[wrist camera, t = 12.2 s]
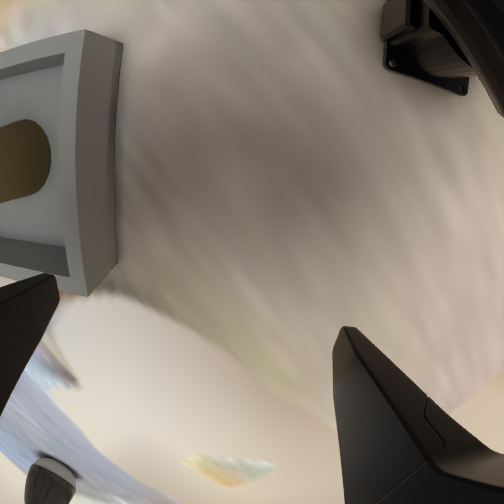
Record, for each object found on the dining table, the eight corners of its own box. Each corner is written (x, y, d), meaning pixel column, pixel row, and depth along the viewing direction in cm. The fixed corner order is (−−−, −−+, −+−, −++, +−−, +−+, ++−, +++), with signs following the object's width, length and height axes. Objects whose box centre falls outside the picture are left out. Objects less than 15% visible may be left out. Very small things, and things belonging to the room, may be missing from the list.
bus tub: (123, 43, 16) (85, 29, 12) (117, 262, 23) (87, 296, 18) (-22, 76, 16) (-61, 79, 12) (-14, 240, 23) (-47, 262, 18)
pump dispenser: (78, 466, 41) (53, 529, 27) (84, 483, 46) (64, 537, 32) (32, 443, 40) (4, 500, 27) (43, 463, 45) (20, 514, 31)
